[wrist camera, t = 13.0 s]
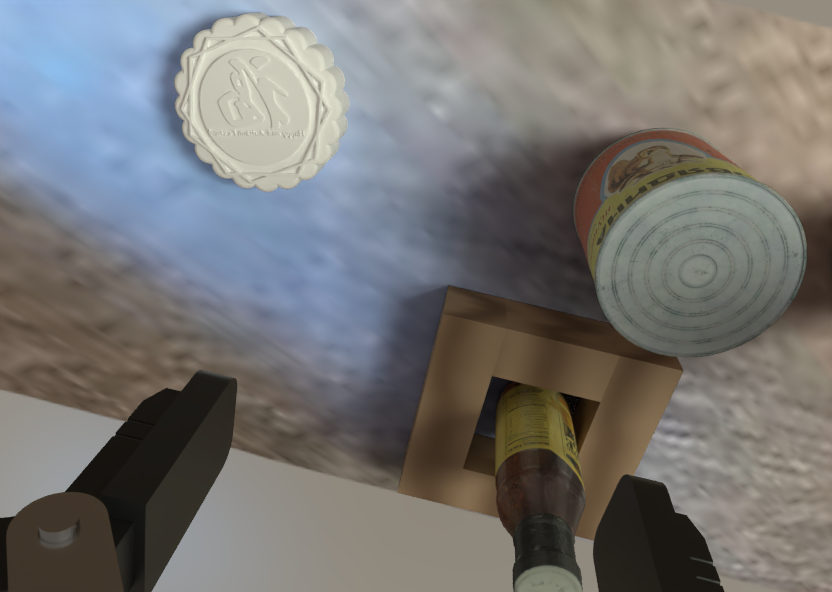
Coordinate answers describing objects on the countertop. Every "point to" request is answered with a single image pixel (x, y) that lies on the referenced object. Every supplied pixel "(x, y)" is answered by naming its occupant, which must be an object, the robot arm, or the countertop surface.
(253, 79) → the cream scalloped thick disc
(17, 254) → the countertop surface
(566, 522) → the sauce bottle
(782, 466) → the countertop surface
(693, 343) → the canned food
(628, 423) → the square wooden frame
